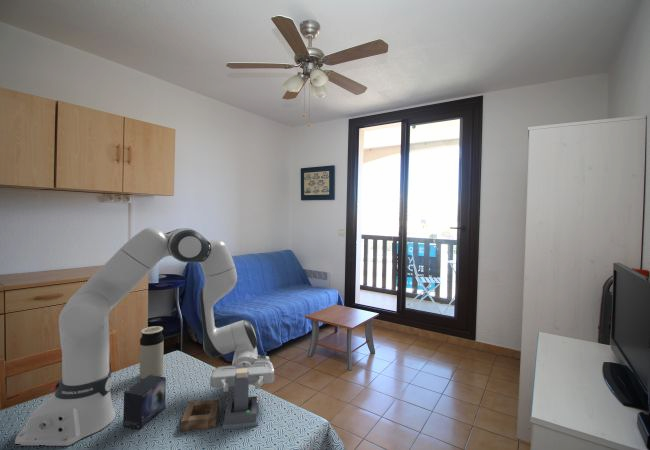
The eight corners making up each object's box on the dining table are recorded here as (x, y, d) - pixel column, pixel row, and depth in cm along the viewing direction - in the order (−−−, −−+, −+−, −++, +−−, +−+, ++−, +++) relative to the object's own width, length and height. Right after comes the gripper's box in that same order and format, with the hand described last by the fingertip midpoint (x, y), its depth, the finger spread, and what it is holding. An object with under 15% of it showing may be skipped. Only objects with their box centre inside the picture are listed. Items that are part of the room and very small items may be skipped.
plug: (234, 418, 93) (234, 374, 93) (235, 410, 97) (235, 368, 97) (247, 417, 94) (248, 373, 93) (248, 409, 98) (248, 367, 97)
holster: (180, 431, 88) (180, 421, 88) (188, 411, 97) (188, 402, 97) (215, 427, 90) (215, 417, 90) (219, 408, 99) (219, 399, 99)
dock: (222, 429, 89) (222, 416, 89) (226, 408, 99) (226, 396, 99) (257, 425, 91) (258, 412, 91) (258, 405, 101) (258, 393, 101)
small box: (140, 430, 88) (141, 394, 88) (121, 427, 90) (122, 391, 90) (166, 408, 99) (167, 376, 99) (149, 405, 100) (149, 374, 100)
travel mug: (167, 373, 121) (167, 328, 120) (147, 382, 114) (147, 334, 114) (156, 368, 125) (156, 324, 125) (135, 376, 118) (135, 330, 118)
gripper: (213, 360, 106) (206, 380, 92) (273, 355, 110) (275, 375, 96) (213, 378, 106) (206, 401, 92) (273, 373, 110) (274, 395, 96)
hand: (241, 388), depth 94 cm, fingers open, 8 cm apart
